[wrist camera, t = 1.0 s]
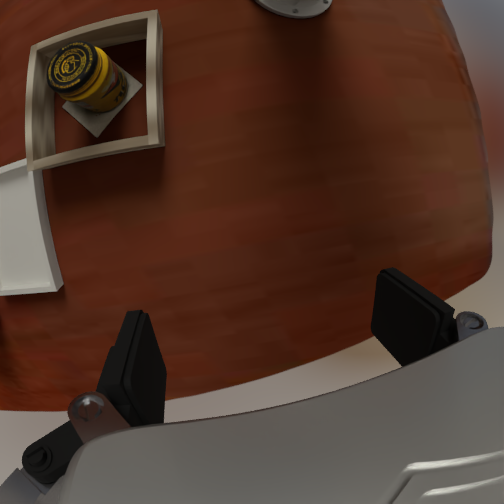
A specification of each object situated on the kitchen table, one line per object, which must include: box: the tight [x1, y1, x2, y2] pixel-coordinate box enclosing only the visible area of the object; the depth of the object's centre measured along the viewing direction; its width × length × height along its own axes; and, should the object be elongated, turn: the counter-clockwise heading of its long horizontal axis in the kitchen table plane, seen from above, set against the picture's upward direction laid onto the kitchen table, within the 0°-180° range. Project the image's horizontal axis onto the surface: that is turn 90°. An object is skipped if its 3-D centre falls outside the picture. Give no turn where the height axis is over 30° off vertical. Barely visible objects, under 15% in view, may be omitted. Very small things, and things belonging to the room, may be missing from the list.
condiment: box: [47, 41, 143, 138], centre depth 22 cm, size 7×8×12 cm
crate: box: [25, 10, 165, 172], centre depth 25 cm, size 16×16×6 cm
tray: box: [0, 159, 64, 296], centre depth 29 cm, size 18×13×2 cm
